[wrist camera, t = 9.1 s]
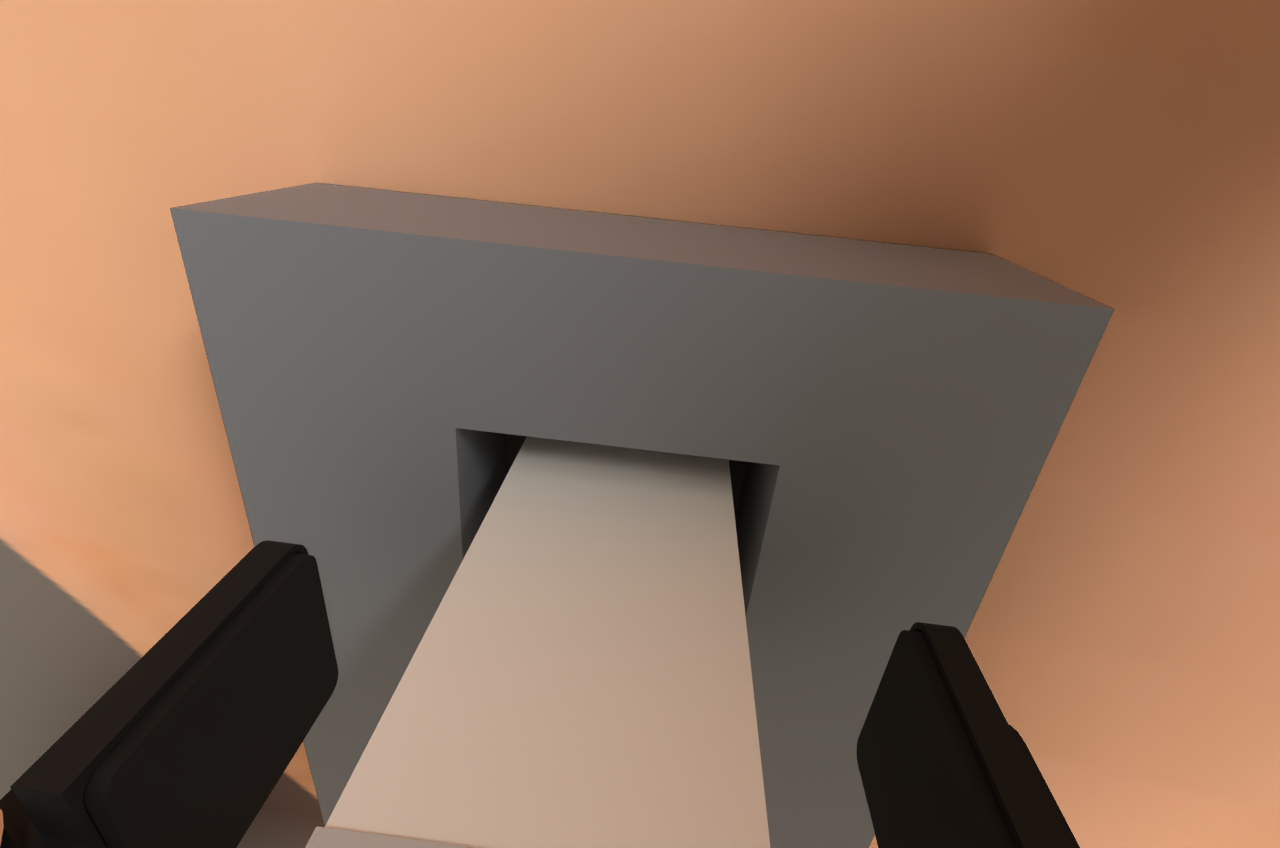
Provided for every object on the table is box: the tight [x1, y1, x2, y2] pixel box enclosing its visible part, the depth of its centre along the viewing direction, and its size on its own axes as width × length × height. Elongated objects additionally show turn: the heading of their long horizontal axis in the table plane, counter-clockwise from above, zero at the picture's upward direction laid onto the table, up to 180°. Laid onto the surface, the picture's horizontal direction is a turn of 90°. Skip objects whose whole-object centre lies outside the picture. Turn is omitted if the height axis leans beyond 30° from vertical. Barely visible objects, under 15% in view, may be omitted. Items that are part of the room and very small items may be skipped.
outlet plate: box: [170, 183, 1114, 848], centre depth 15 cm, size 18×14×4 cm
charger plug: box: [305, 436, 770, 848], centre depth 10 cm, size 4×4×10 cm
